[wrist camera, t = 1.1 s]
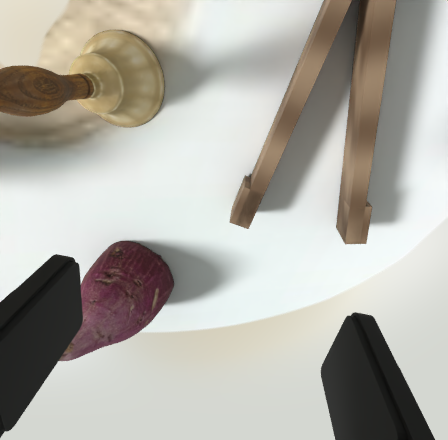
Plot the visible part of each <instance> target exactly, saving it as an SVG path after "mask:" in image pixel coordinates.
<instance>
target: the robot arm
mask: <svg viewBox="0 0 448 440" xmlns="http://www.w3.org/2000/svg"><path fill="white" fill-rule="evenodd" d="M82 322H83V311H82V297H81V284H80V270H79V264H78V263H76V262H75V259H74V258H72V257H68V256H62V255H57V254H56V255H53V256H52V257H51V258H50V259H49V260H48V261H46V262H45V263H44V264H43V265H42V266H41V267H40V268H39V269H38V270H37V271H35V272H34V273H33V274H32V275H31V276H30V277H29V278H28V279H27V280H26V281H24V282H23V283H22V284H21V285H20V286H19V287H18V288H17V289H16V290H14V291H13V292H11V293H10V294H9V295H8V296H7V297H6V298H5V299H3V300H2V301H1V302H0V437H1V436H2V434H3V433H4V432H5V431H9V430H11V429H12V428H13V427H14V425H15V424H16V423H17V421H18V420H19V418H20V417H21V415H22V414H23V412H24V411H25V409H26V408H27V406H28V405H29V404H30V402H31V401H32V399H33V398H34V396H35V395H36V393H37V392H38V390H39V389H40V387H41V386H42V384H43V383H44V381H45V380H46V378H47V377H48V375H49V374H50V372H51V371H52V369H53V368H54V366H55V365H56V364H57V362H58V361H59V359H60V358H61V356H62V355H63V353H64V352H65V350H66V349H67V347H68V346H69V344H70V343H71V342H72V340H73V339H74V337H75V336H76V334H77V333H78V331H79V330H80V328H81V326H82ZM321 378H322V382H323V386H324V391H325V395H326V400H327V404H328V409H329V413H330V418H331V422H332V427H333V431H334V436H335V440H435V439H434V437H433V435H432V433H431V430H430V429H429V426H428V424H427V422H426V421H425V418H424V416H423V414H422V412H421V410H420V409H419V406H418V404H417V402H416V400H415V398H414V396H413V394H412V392H411V390H410V388H409V386H408V384H407V382H406V380H405V378H404V376H403V374H402V372H401V370H400V368H399V367H398V365H397V363H396V361H395V359H394V357H393V355H392V353H391V351H390V349H389V347H388V345H387V343H386V341H385V339H384V337H383V335H382V333H381V331H380V329H379V327H378V325H377V323H376V321H375V319H374V317H373V316H371V315H366V314H361V313H353V314H352V315H351V316H347V317H346V319H345V320H344V322H343V324H342V326H341V329H340V330H339V333H338V334H337V336H336V338H335V341H334V342H333V345H332V346H331V348H330V350H329V353H328V354H327V356H326V358H325V360H324V363H323V364H322V367H321Z"/></svg>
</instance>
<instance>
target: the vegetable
mask: <svg viewBox="0 0 448 440" xmlns="http://www.w3.org/2000/svg"><path fill="white" fill-rule="evenodd" d="M173 287H174V281H173V277H172V274H171V272H170V269H169V267H168V265H167V264H166V263H165V262H164V261H163V260H162V258H161V256H160V255H157V254H156V253H154V252H153V251H151V250H150V249H148V248H146V247H145V246H142V245H141V244H139V243H135V242H130V241H120V242H116V243H114V244H112V245H111V246H110V247H108V249H106V250H105V251H104V252H103V253H102V255H101V256H100V257H99V258H98V259H97V260H96V262H95V263H94V264H93V265H92V267H91V268H90V269H89V271H88V272H87V273H86V275H85V277H84V279H83V281H82V283H81V297H82V311H83V322H82V326H81V328H80V330H79V331H78V333H77V334H76V336H75V337H74V339H73V340H72V342H71V343H70V344H69V346H68V347H67V349H66V350H65V352H64V353H63V355H62V356H61V358H60V359H59V361H69V360H73V359H76V358H78V357H81V356H83V355H85V354H87V353H90V352H92V351H95V350H97V349H99V348H102V347H104V346H108V345H112V344H114V343H118V342H121V341H124V340H126V339H128V338H130V337H132V336H133V335H135V334H137V333H138V332H139V331H141V330H142V329H143V328H144V327H146V326H147V325H148V324H149V323H150V322H151V321H152V320H153V319H154V317H155V316H156V315H157V314H158V312H159V311H160V310H161V309H162V307H163V306H164V304H165V303H166V301H167V300H168V298H169V296H170V294H171V292H172V289H173Z"/></svg>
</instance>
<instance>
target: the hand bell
mask: <svg viewBox="0 0 448 440" xmlns="http://www.w3.org/2000/svg"><path fill="white" fill-rule="evenodd" d="M163 97H164V76H163V72H162V69H161V66H160V64H159V62H158V60H157V58H156V56H155V55H154V53H153V52H152V50H151V49H150V48H149V47H148V46H147V44H145V43H144V42H143V41H142V40H141V39H139V38H138V37H136V36H134V35H132V34H130V33H128V32H125V31H120V30H107V31H103V32H100V33H98V34H96V35H95V36H93V37H92V38H91V39H90V40H89V41H88V42H87V43H86V44H85V46H84V48H83V50H82V52H81V54H80V56H79V57H78V58H76V59H75V60H74V62H73V63H72V65H71V67H70V71H69V75H57V74H55V73H53V72H51V71H49V70H46V69H43V68H39V67H34V66H10V67H5V68H2V69H0V112H3V113H7V114H11V115H16V116H25V117H28V116H37V115H42V114H46V113H49V112H51V111H53V110H56V109H58V108H59V107H60V106H62V105H63V104H64V103H65V102H66V101H68V100H77V101H78V102H79V103H80V104H81V105H82V106H83V107H84V108H85V109H87V110H89V111H91V112H93V113H96V114H98V115H99V116H100V117H101V118H103V119H104V120H106V121H107V122H109V123H111V124H113V125H116V126H120V127H137V126H140V125H142V124H145V123H146V122H148V121H149V120H151V119H152V118H153V117H154V116H155V114H156V113H157V112H158V110H159V108H160V106H161V104H162V101H163Z"/></svg>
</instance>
